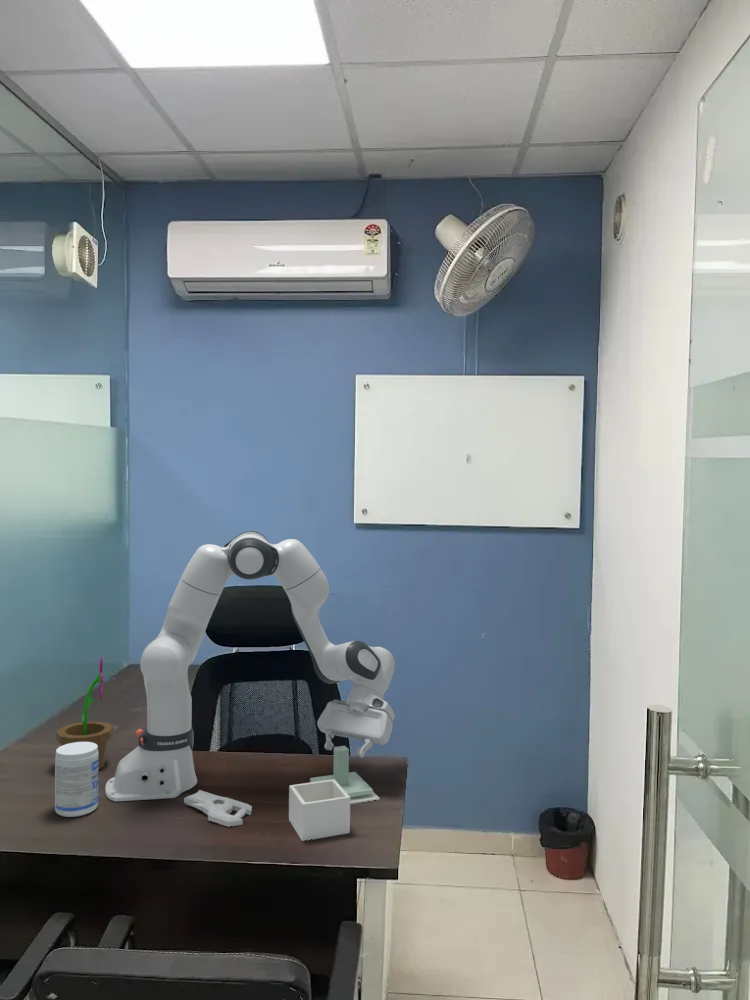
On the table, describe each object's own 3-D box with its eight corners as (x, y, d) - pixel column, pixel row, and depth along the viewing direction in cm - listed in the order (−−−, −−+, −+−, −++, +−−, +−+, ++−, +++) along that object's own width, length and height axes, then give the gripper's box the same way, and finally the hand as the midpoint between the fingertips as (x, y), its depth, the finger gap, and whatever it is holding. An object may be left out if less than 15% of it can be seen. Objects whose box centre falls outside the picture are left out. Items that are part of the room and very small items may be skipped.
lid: (325, 804, 178) (325, 759, 178) (309, 784, 189) (310, 743, 189) (372, 796, 182) (373, 753, 182) (354, 778, 194) (355, 737, 194)
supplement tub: (102, 812, 172) (103, 750, 172) (59, 822, 167) (59, 757, 167) (92, 798, 180) (93, 738, 180) (51, 806, 175) (51, 745, 175)
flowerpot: (113, 772, 196) (115, 660, 196) (55, 780, 191) (56, 665, 191) (111, 754, 210) (112, 649, 209) (56, 761, 204) (57, 653, 204)
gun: (173, 798, 173) (201, 784, 182) (172, 813, 173) (200, 797, 182) (236, 819, 165) (262, 802, 174) (235, 834, 165) (261, 817, 174)
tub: (302, 841, 160) (302, 804, 160) (288, 819, 170) (289, 785, 170) (349, 833, 164) (350, 797, 164) (333, 812, 174) (334, 779, 174)
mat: (321, 808, 176) (321, 807, 176) (304, 785, 190) (304, 783, 190) (379, 799, 182) (379, 798, 182) (358, 777, 196) (358, 776, 196)
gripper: (325, 692, 198) (304, 738, 189) (392, 704, 188) (373, 753, 179) (334, 704, 202) (313, 750, 193) (400, 716, 192) (382, 766, 183)
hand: (343, 752), depth 186 cm, fingers open, 8 cm apart
